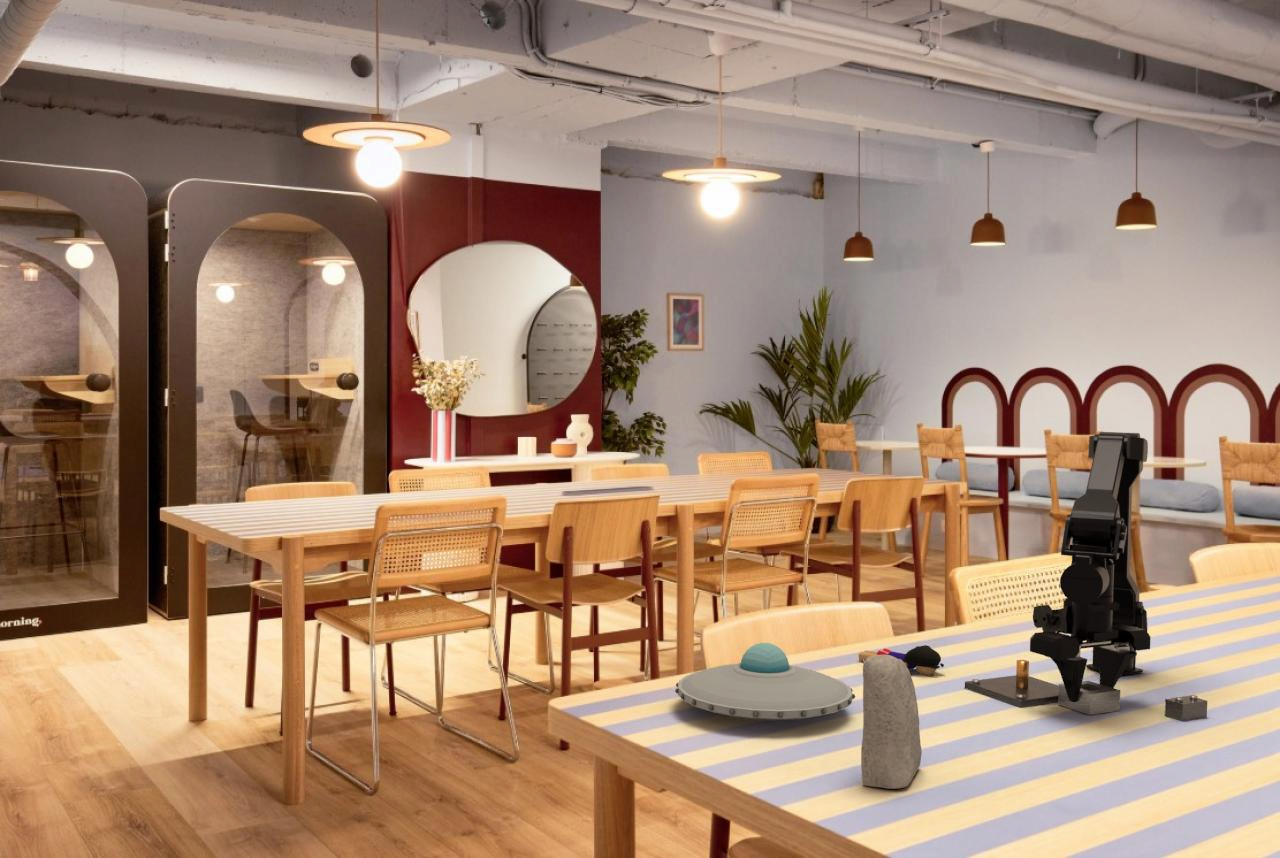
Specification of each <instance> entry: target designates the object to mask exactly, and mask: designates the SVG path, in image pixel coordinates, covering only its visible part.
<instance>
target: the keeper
mask: <svg viewBox="0 0 1280 858" xmlns="http://www.w3.org/2000/svg"><path fill="white" fill-rule="evenodd" d="M1029 671H1030V661H1029V660H1027V659H1017V660H1016V673H1015V675H1009V676H999V677H991V678H984V679H978V678H977V679H975V678H974V679H971V680H968V681H964V689H967V690H969V691H971V692H974V693H975V692H976V693H977V694H979V695H980V694H981V695H983V696H986V697H989V698H993V699H995V700H998V701H1001V702H1003V703H1006V704H1009V705H1013V706H1014V707H1015V706H1016V707H1018V708H1026V707H1028V708H1029V707H1033V706H1035V707H1036V706H1042V705H1049V704H1056V703H1057V704H1058V691H1059V684H1055V683H1052V682H1048V681H1046V680H1042V679H1041V678H1040V679H1039V678H1036V677H1032V676H1030V675H1029Z"/></svg>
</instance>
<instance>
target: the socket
mask: <svg viewBox="0 0 1280 858" xmlns="http://www.w3.org/2000/svg"><path fill="white" fill-rule="evenodd" d="M1058 685H1059V691H1058V702H1057V705H1059V706H1062V707H1064V708H1068V709H1071V710H1074V711H1076V712H1080V713H1083V714H1086V715H1088V716H1091V715H1098V714H1104V713H1113V712H1118V711H1119V712H1120V709H1121V708H1120V707H1121V690H1120V689H1118V688H1115V687H1114V688H1111V687H1108V686H1105V685H1101V684H1100V683H1098V682H1094V681H1090V680H1085V681H1084V680H1082V684H1081V689H1080V693H1079V696H1078V699H1077V701H1076V702H1072V701H1070V700H1069V698H1068V695H1067V692H1066V689H1065V686H1064V683H1060V684H1058Z"/></svg>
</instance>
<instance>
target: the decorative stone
mask: <svg viewBox="0 0 1280 858" xmlns="http://www.w3.org/2000/svg"><path fill="white" fill-rule="evenodd" d="M862 677H863V683H862V685H863V686H862V687H863V688H862V706H863V707H862V708H863V711H862V712H863V713H862V714H863V715H862V716H863V720H862V721H863V724H862V725H863V726H862V740H861V750H860V751H861V752H860V753H861V754H860V755H861V756H860V757H861V758H860V761H861V763H860V767H861V783H862V785H864V786H865V787H873V788H884V789H888V790H890V789H903V788H906V787H908V786H909V784H911V782H912V781H913V778H914V776H915V775H916V773H917V771H918V770H919V768H920V766H921V760H922V745H921V736H920V734H921V733H920V718H919V717H920V716H919V708H918V707H919V706H918V701H917V700H918V699H917V695H916V688H915V684H914V681H913V678H912V675H911V672H910V670H909V669H908V668H907V666H906V665H905V664H904V662H903V661H902V660H901V659H897V658H895V657H893V656H890V655H872V656H870V657H868V658H867V659H866V660H863V665H862Z"/></svg>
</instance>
